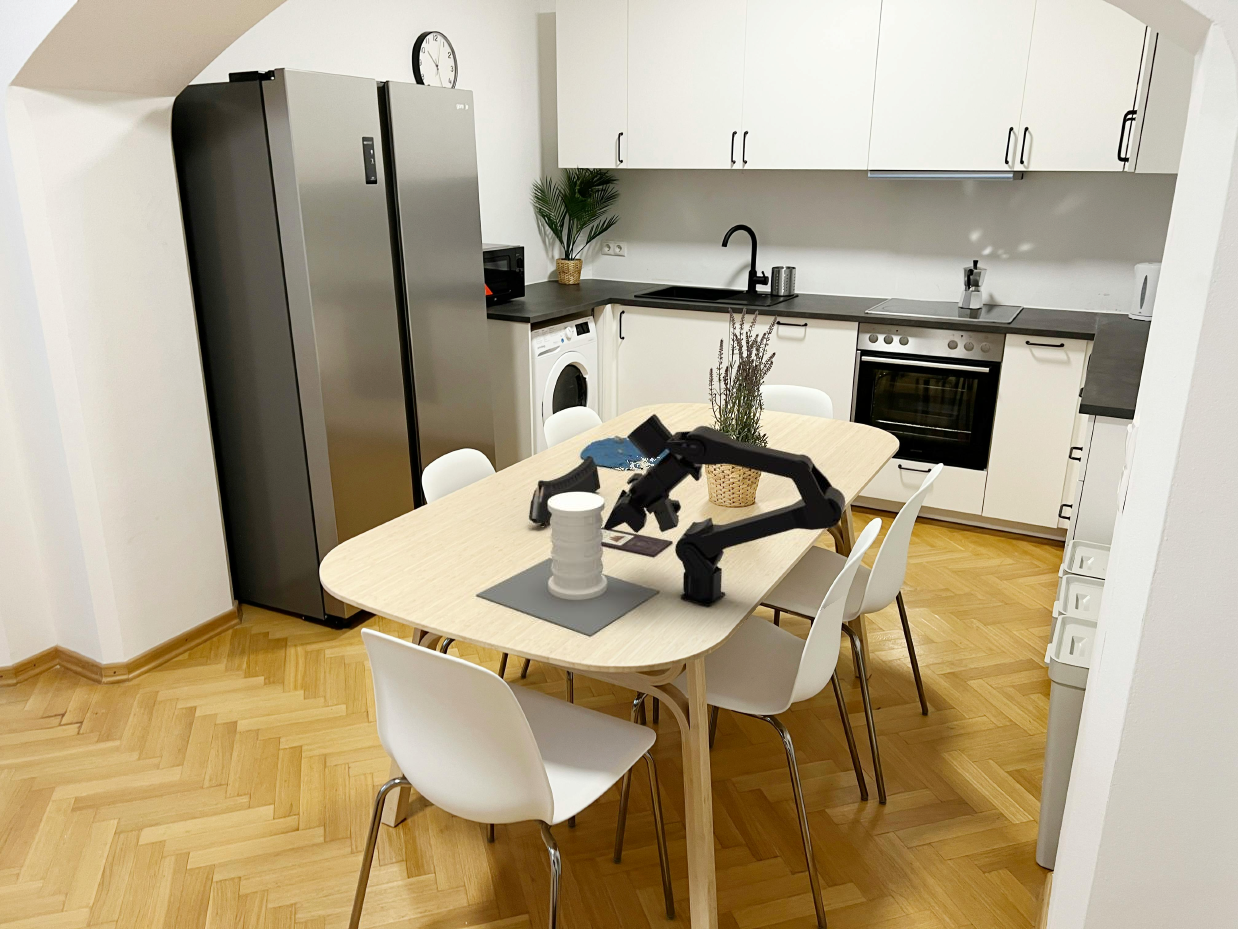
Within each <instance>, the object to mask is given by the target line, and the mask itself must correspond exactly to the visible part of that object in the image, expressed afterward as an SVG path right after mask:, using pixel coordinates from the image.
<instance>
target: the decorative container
mask: <svg viewBox="0 0 1238 929" xmlns="http://www.w3.org/2000/svg"><path fill="white" fill-rule="evenodd" d="M605 502H606V501H605V499H604V497H602V496H601V495H598V494H597V493H594V494H593V493H587V492H568V493H562V494H558V495H555V496H553V497H551V498H550V499H549V500H548V510H549V511H550V512H551V513H552V516H551V519H550V522H549V524H550V526H551V533H550V542H551V544H552V547H551V550H550V555H551V558H552V559H553V563H552V566H551V569H552V573H553V576H552V577H551V578H550V579H549V581H548V589H549V592H550V593H551V594H552V595H554V596H556V597H559V598H562V599H567V600H586V599H591V598H594V597H597V596H599V595H601V594H603V593H604V592H605V591H606V589H607V579H606V577H605V576H604V575H602V574H603V571H604V564H603V560H602V558H603V554H604V549H603V548H604V547H602V546H601V542H602V539H603V534H602V531H601V528H602V527H603V522H604V520H603V519H604V518H603V516H602V512H603V511H604V510H605V507H606V505H605ZM601 573H602V574H601Z"/></svg>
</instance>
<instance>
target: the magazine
mask: <svg viewBox="0 0 1238 929" xmlns="http://www.w3.org/2000/svg"><path fill="white" fill-rule="evenodd" d="M600 489H601V482H600V477H599V471H598V465H596V463H595V462H594V459H593V457H591V456H587V457H586V459H585V460H584V459H583V461H582V462H581V463H580V464H579V465H578V466H576V467H575V468H573V469H572V470H571V471H569V472H567V473H565V474H564V475H562V476H560V477H557V478H553V479H551V480H542V479H541V480H540V479H539V480H538V482H537V486H536V488H535V490H534V491H533V495H532V498H531V500H530V506H529V513H528V520H529V521H531V522H532V523H533V524H537V525H539V524H540V527H542V526H545V527H546V525H547V523H550V519H551V516H552V513H551V512H550V511H549V510H548V500H549V499H550V498H551V497H553V496H555V495H558V494H562V493H568V492H587V493H593V494H596V492H597V491H598V490H600Z"/></svg>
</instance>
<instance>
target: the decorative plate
mask: <svg viewBox="0 0 1238 929" xmlns="http://www.w3.org/2000/svg"><path fill="white" fill-rule="evenodd" d="M668 452H669V451H668V449H666V450H665V451H664V452H663V453H662V454H661V455H659V456H658V457H660V458H656V460H655V461H654V460H653V462H652V461H650V460H649V459H648V460H647V459H646V460H647V462H648V463H650V464H654V465H655V464H656V463H657V462H658V461H659V460H660V459H662V458H663V457H664V456H665V455H666V454H667V453H668ZM587 456H591V457H593V459H594V462H595V463H596V465H597V467H598V466H599V467H602V466H605V467H610V468H611V467H612V468H611V469H613V468H619V469H621V468H624V469H626V468H628V469H630V468H631V467H630V465H631V464H632V463H628V462H627V460H630V461H631V462H633V463H636V462H634V461H637V462H638V461H639V460H640V461H642V458H644V459H645V457H644V456H643V454H642V453H641V452H640V451H639V450H638V449H637V448H636V447H635V446H634V444H633V443H632V442H631V441H630V440H629V439H628V438H627V437H621V436H620V435H615V436H614V437H607V438H604V439H598V440H595V441H592V442H591V443H590V444H588V445H586V446H585V447H584V448H583V449H582V451H581V452H580V457H581V459H583V461H584V460H585V459H586V457H587ZM637 456H638V457H637ZM641 457H642V458H641ZM652 458H653V457H652ZM630 461H629V462H630ZM644 462H646V461H644ZM644 462H643V463H644ZM647 462H646V463H647ZM637 464H639V462H638V463H636V464H634V467H635V468H638V469H641V467H642V466H641V465H638V467H637ZM649 466H651V465H648V466H646V467H649ZM620 467H621V468H620ZM646 467H645V468H646ZM652 467H653V466H652ZM632 469H633V467H632ZM632 469H630V470H629V471H633V470H632ZM638 469H637V470H638ZM621 470H622V469H621ZM642 470H643V469H641V470H640V471H642Z"/></svg>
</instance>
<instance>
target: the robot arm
mask: <svg viewBox="0 0 1238 929" xmlns="http://www.w3.org/2000/svg"><path fill="white" fill-rule="evenodd" d="M626 438H627V440H630V441H631V442H632V443H633V444H634V446H635V447H636V448H637V449H638V450H639V451H640V452H641V453H642V454H643V456H644V457H645V458H646V459H647V458H648V459H649V460H650V459H651V458H652V457H653V459H654V460H655V459H656V458H657V457H658V456H659V455H661V454H662V453H663V452H664V451H665V450H666V449H668V451H669V452H668V453H667V454H666V455H665V456H664V457H663V458H662V459H660V460H659V461H658V462H657V463H656V464H655V465H654V466H653V467H652V466H650V467H649V468H647V469H646V471H645V473H644V474H643V473H639V472H635V473H633V474H632V475H631V476H630V477H629V478H628V480H627V481H626V484H627V485H630V487H629V488H628V490H627V491H626V490H625V489H622V490H621V491H620V494H619V496H618V497H617V499H616V502H615V503H614V506H613V508H612V509H611V512H610V514H609V516H608V518H607V520H606V522H605V524H604V526H603V527H604V528H605V529H606V530H607V531H609V530H611V529H615V528H617V527H618V526H621V525H623V524H626V525H627V526H628V527H629V528H630V529H631V530H632V531H633V533H635V534H639V532H640V531H641V530H643V529H644V528H645V526H646V523H647V520H648V514H649V515H651V514H652V513H653V515H654V517H655V520H656V522H657V525H658V528H659V531H660V532H661V533H665V532H668V531H670V530H672V529H676V528H677V527H678V525H679V523H680V519H679V517H680V516H679V514H678V513H679V512H680V511H681V509H682V504H681V503H680V501H679V499H678V500H677V499H672V498H670V493H671V492H672V491H673V490H674V489H675V488H677V486H678V485H679V484H681V483H682V482H683V481H684V480H686V479H687V477H689V476H691V477H692V478H693V479H694V481H696V482H698V481H699V480H701V478H702V476H703V474H702V473H703V472H702V468H703V465H706V466H707V465H708V466H716V465H717V466H718V465H732V466H735V467H740V468H745V469H749V470H754V471H758V472H761V473H766V474H772V475H775V476H779V477H783V478H788V479H791V481H792V482H793V483H794V485H795V487H796V489H797V492H798V493H799V495H800V497H801V499H799V500H797V501H795V502H794V503H792V504H790V505H789V504H788V505H787V506H783V507H779V508H776V509H773V510H769V511H767V512H766V511H765V512H763V513H759V514H756V515H753V516H752V515H751V516H749V517H748V516H747V517H745V518H741V519H739V520H736V521H731V522H728V523H725V524H714V523H713V518H712V517H708V518H706V519H704V520H703V521H702V520H701V521H698V522H697V521H693V522H692V523H691V525H690V526H689V527H688V528H687V529H686V530H685V532H684V533H682V535H681V536H680V538H679V539H678V540H677V542H676V544H675V549H674V550H675V551H674V552H675V555H676V556H677V559H678V560H680V562H681V563H682V566H683V569H684V572H683V577H682V578H683V582H682V583H683V584H682V590H683V592H684V593H682V594H681V595H680V599H682V600H685V601H688V602H691V603H694V604H698V605H701V606H703V607H711V606H712V605H714V604H715V603H716V602H718V601H719V600H721V599H722V598H723V596H724V597H725V596H726V592H724V591H722V576H723V575H722V573H723V572H722V571H723V568H721V567H719V566H718V565H719V563H720V562H721V560H722V558H723V555H724V554H725V552H724V550H726V549H728V548H731V547H735V546H739V545H742V544H747V543H749V542H753V541H756V540H757V541H758V540H760V539H765V538H768V537H772V536H775V535H778V534H781V533H786V532H788V531H793V530H797V529H798V530H810V531H814V530H815V531H817V530H823V529H824V530H826V529H831V528H834V527H836V526H837V525H838V524H839V522H840V521H841V519H842V516H843V513H844V510H845V507H846V497H845V495H844V493H843V492H842V491H841V490H839V489H838V488H836V487H834V486H833V485H832V483H831V482H830V481H829V479H828V478H827V476H825V475H824V473H823V472H821V470H820V469H819V468H818V467H817V466H816V464H815V463H814V462H813V460H812V458H811V457H809V455H806V454H799V453H798V454H796V453H792V452H788V451H783V450H780V449H779V450H778V449H775V448H771V447H765V446H761V445H758V444H752V443H750V442H749V443H748V442H744V441H740V440H737V439H735V438H732V437H731V436H729V435H728V434H726V433H724V432H722V431H720V430H717V429H715V428H712V427H711V426H708V425H700V426H697V427H696V428H694V429H692V430H688V431H687V430H686V431H676V432H675V433H673V434H672V433H671V431H670V430H669V429H668V428H667V427H666V426H665V425H664V424H663V422H662V421H661V419H660V418H659V417H658V415H657V414H655V413H653V414H652V415H651V416H649V417H648V418H647V419H646V420H645V421H643V422H641V423H640V424H639V425H638V426H637V427H636V428H634V429H633V430H632V431H631V432H630V433H629V434H628V435H627V437H626Z"/></svg>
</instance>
